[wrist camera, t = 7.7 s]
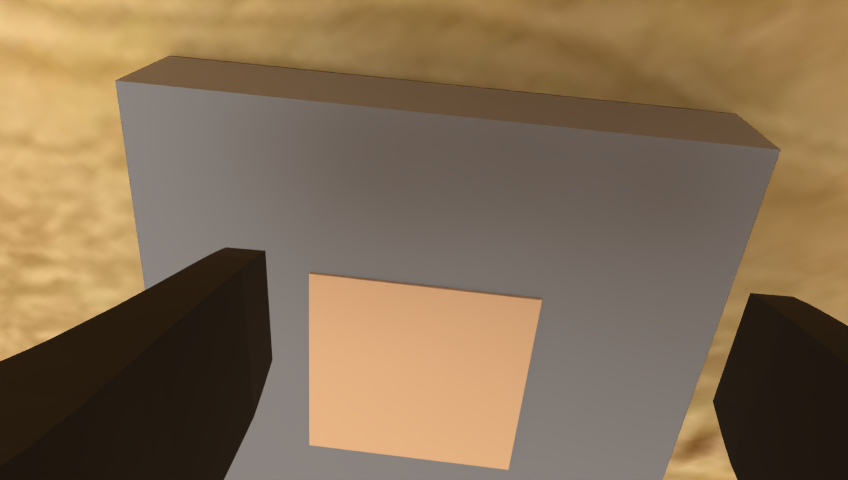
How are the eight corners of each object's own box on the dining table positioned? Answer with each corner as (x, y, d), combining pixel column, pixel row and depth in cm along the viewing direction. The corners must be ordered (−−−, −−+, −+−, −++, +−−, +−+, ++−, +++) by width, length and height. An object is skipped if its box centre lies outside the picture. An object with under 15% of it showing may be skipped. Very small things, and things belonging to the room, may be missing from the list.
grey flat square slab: (735, 114, 18) (782, 151, 15) (610, 511, 25) (626, 585, 22) (169, 56, 18) (113, 81, 16) (210, 461, 26) (177, 527, 23)
